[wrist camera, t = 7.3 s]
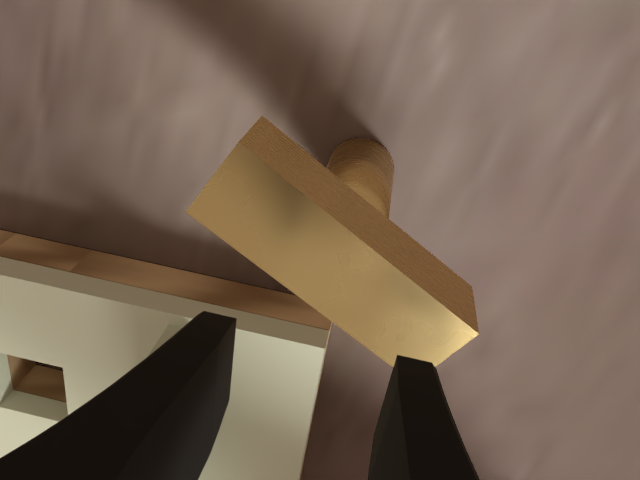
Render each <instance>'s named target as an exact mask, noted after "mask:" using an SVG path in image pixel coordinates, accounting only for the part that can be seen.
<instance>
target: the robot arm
mask: <svg viewBox="0 0 640 480" xmlns="http://www.w3.org/2000/svg"><path fill="white" fill-rule="evenodd" d="M236 321H237V318H233V317H229V316H224V315H220V314H215V313H211V312H207V311H203V312H201V313H199V314H198V315H197V316H195V317H194V318H193V319H192V320H191V321H190V322H188V323H187V324H186V325H185V326H184V327H183V328H182V329H180V330H179V331H178V332H177V333H176V334H174V335H173V336H172V337H171V338H170V339H169V340H167V341H166V342H165V343H164V344H163V345H161V346H160V347H159V348H158V349H156V350H155V351H154V352H153V353H152V354H150V355H149V356H148V357H147V358H145V359H144V360H143V361H141V362H140V363H139V364H138V365H136V366H135V367H134V368H132V369H131V370H130V371H129V372H127V373H126V374H125V375H123V376H122V377H121V378H120V379H118V380H117V381H116V382H114V383H113V384H112V385H110V386H109V387H108V388H106V389H105V390H103V391H102V392H101V393H99V394H98V395H96V396H95V397H93V398H92V399H91V400H89V401H88V402H86V403H85V404H83V405H82V406H81V407H79V408H78V409H76V410H75V411H73V412H72V413H71V414H69V415H68V416H66V417H65V418H63V419H62V420H60V421H59V422H57V423H56V424H54V425H53V426H51V427H50V428H48V429H47V430H45V431H44V432H42V433H40V434H39V435H37V436H36V437H34V438H32V439H31V440H29V441H28V442H26V443H24V444H23V445H21V446H19V447H18V448H16V449H14V450H13V451H11V452H9V453H8V454H6V455H4V456H3V457H1V458H0V480H198V479H199V477H200V475H201V472H202V470H203V468H204V466H205V464H206V462H207V460H208V458H209V456H210V453H211V451H212V448H213V445H214V443H215V440H216V437H217V434H218V432H219V429H220V426H221V423H222V420H223V417H224V414H225V411H226V408H227V406H228V403H229V398H230V387H231V376H232V365H233V354H234V343H235V332H236ZM368 480H479V478H478V475H477V473H476V471H475V469H474V466H473V464H472V462H471V460H470V457H469V455H468V453H467V451H466V448H465V446H464V444H463V441H462V439H461V437H460V434H459V432H458V429H457V427H456V424H455V421H454V419H453V416H452V414H451V411H450V408H449V406H448V403H447V400H446V397H445V395H444V392H443V389H442V386H441V383H440V380H439V376H438V373H437V370H436V368H435V366H434V365H433V363H432V362H427V361H423V360H418V359H414V358H410V357H405V356H401V355H397V357H396V360H395V364H394V367H393V371H392V374H391V378H390V381H389V385H388V388H387V392H386V395H385V399H384V402H383V406H382V409H381V412H380V416H379V419H378V423H377V426H376V430H375V433H374V439H373V446H372V453H371V460H370V467H369V474H368Z"/></svg>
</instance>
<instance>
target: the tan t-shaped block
mask: <svg viewBox="0 0 640 480" xmlns="http://www.w3.org/2000/svg"><path fill="white" fill-rule="evenodd" d="M393 175H394V164H393V160H392V158H391V156H390V154H389V152H388V151H387V150H386V148H384V147H383V146H382V145H381V144H380V143H378V142H376V141H374V140H371V139H368V138H353V139H349V140H347V141H345V142H343V143H341V144H340V145H339V146H337V147H336V148H335V150H334V151H333V153H332V154H331V156H330V159H329V161H328V164H327V166H326V167H324V166H323V165H322V164H321V163H320V162H318V161H317V160H316V159H315V158H313V157H312V156H311V155H310V154H308V153H307V152H306V151H305V150H304V149H302V148H301V147H300V146H299V145H297V144H296V143H295V142H294V141H293V140H291V139H290V138H289V137H288V136H286V135H285V134H284V133H283V132H282V131H280V130H279V129H278V128H277V127H275V126H274V125H273V124H272V123H271V122H269V121H268V120H267V119H266V118H264V117H263V116H261V117H260V119H259V120H258V121H257V122H256V123H255V124H254V125H253V126H252V128H251V129H250V130H249V131H248V132H247V133H246V134H245V135H244V137H243V138H242V139H241V140H240V141H239V142H238V144H237V145H236V146H235V147H234V149H233V150H232V151H231V153H230V154H229V155H228V157H227V158H226V159H225V161H224V162H223V163H222V165H221V166H220V167H219V169H218V170H217V171H216V173H215V174H214V175H213V177H212V178H211V179H210V181H209V182H208V183H207V184H206V186H205V187H204V188H203V190H202V191H201V192H200V194H199V195H198V196H197V198H196V199H195V200H194V202H193V203H192V204H191V206H190V207H189V208H188V210H187V211H186V213H187V214H189V215H190V216H191V217H193V218H194V219H195V220H197V221H198V222H199V223H201V224H202V225H203V226H205V227H206V228H207V229H209V230H210V231H211V232H213V233H214V234H215V235H217V236H218V237H219V238H221V239H222V240H223V241H225V242H226V243H227V244H229V245H230V246H231V247H233V248H234V249H235V250H237V251H238V252H239V253H241V254H242V255H243V256H245V257H246V258H247V259H249V260H250V261H251V262H253V263H254V264H255V265H257V266H258V267H259V268H261V269H262V270H263V271H265V272H266V273H267V274H269V275H270V276H271V277H273V278H274V279H275V280H277V281H278V282H279V283H281V284H282V285H284V286H285V287H286V288H288V289H289V290H290V291H292V292H293V293H294V294H296V295H297V296H298V297H300V298H301V299H302V300H304V301H305V302H306V303H308V304H309V305H310V306H312V307H313V308H314V309H316V310H317V311H318V312H320V313H321V314H322V315H324V316H325V317H326V318H328V319H329V320H330V321H332V322H333V323H334V324H336V325H337V326H338V327H340V328H341V329H342V330H344V331H345V332H346V333H348V334H349V335H350V336H352V337H353V338H354V339H356V340H357V341H358V342H360V343H361V344H362V345H364V346H365V347H366V348H368V349H369V350H370V351H372V352H373V353H374V354H376V355H377V356H378V357H380V358H381V359H382V360H384V361H385V362H386V363H388V364H389V365H390V366H392V367H394V364H395V360H396V357H397V355H401V356H405V357H410V358H414V359H418V360H423V361H427V362H432V363H433V365H434V366H435V367H436V366H437V365H438V364H440V363H441V362H442V361H444V360H445V359H446V358H448V357H449V356H450V355H452V354H453V353H454V352H456V351H457V350H458V349H460V348H461V347H462V346H463V345H465V344H466V343H467V342H469V341H470V340H471V339H473V338H474V337H475V336H477V335H478V334H479V331H478V324H477V317H476V311H475V304H474V297H473V290H472V287H471V286H470V285H469V284H468V283H467V282H465V281H464V280H463V279H462V278H460V277H459V276H458V275H457V274H456V273H454V272H453V271H452V270H451V269H449V268H448V267H447V266H446V265H445V264H443V263H442V262H441V261H440V260H438V259H437V258H436V257H435V256H434V255H432V254H431V253H430V252H429V251H427V250H426V249H425V248H424V247H422V246H421V245H420V244H419V243H418V242H416V241H415V240H414V239H413V238H411V237H410V236H409V235H408V234H407V233H405V232H404V231H403V230H402V229H400V228H399V227H398V226H397V225H396V224H394V223H393V222H392V221H391V220H389V211H390V202H391V193H392V184H393Z"/></svg>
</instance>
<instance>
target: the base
mask: <svg viewBox="0 0 640 480" xmlns="http://www.w3.org/2000/svg"><path fill="white" fill-rule="evenodd" d="M0 257H5V258H9V259H14V260H18V261H23V262H27V263H31V264H36V265H40V266H45V267H49V268H54V269H58V270H62V271H67V272H71V273H76V274H80V275H85V276H89V277H93V278H98V279H102V280H107V281H111V282H116V283H120V284H124V285H129V286H133V287H138V288H142V289H147V290H151V291H155V292H160V293H164V294H169V295H173V296H178V297H182V298H186V299H191V300H195V301H200V302H204V303H209V304H213V305H217V306H222V307H226V308H231V309H235V310H240V311H244V312H248V313H253V314H257V315H262V316H266V317H271V318H275V319H279V320H284V321H288V322H293V323H297V324H302V325H306V326H310V327H315V328H319V329H324V330H328V331H329V335H330V331H331V326H332V321H330V320H329V319H328V318H326V317H325V316H324V315H322V314H321V313H320V312H318V311H317V310H316V309H314V308H313V307H312V306H310V305H309V304H308V303H306V302H305V301H304V300H302V299H301V298H300V297H298V296H297V295H292V294H288V293H283V292H279V291H274V290H270V289H265V288H261V287H256V286H252V285H247V284H243V283H238V282H234V281H229V280H225V279H220V278H216V277H211V276H207V275H202V274H197V273H193V272H188V271H184V270H179V269H175V268H170V267H166V266H161V265H157V264H152V263H148V262H143V261H139V260H134V259H130V258H125V257H121V256H116V255H112V254H107V253H103V252H98V251H94V250H89V249H85V248H80V247H76V246H71V245H67V244H62V243H58V242H53V241H49V240H44V239H40V238H35V237H31V236H26V235H22V234H17V233H13V232H8V231H4V230H0ZM329 335H328V340H329ZM328 340H327V345H328ZM327 345H326V350H327ZM326 350H325V355H326ZM325 355H324V360H325ZM7 358H8V364H9V369H10V375H11V380H12V386H13V390H16V391H20V392H24V393H29V394H33V395H37V396H41V397H45V398H49V399H53V400H57V401H61V402H65V403H67V401H66V392H65V383H64V375H63V371H61V370H57V369H52V368H48V367H44V366H40V365H36V361H32V360H28V359H24V358H20V357H16V356H11V355H7ZM324 360H323V365H324ZM323 365H322V370H323ZM322 370H321V375H322ZM321 375H320V380H321ZM320 380H319V385H320ZM319 385H318V390H319ZM318 390H317V395H318ZM317 395H316V400H317ZM316 400H315V405H316ZM315 405H314V410H315ZM314 410H313V415H314ZM313 415H312V420H313ZM312 420H311V424H312ZM310 429H311V425H310ZM309 434H310V430H309ZM308 439H309V435H308ZM307 444H308V440H307ZM306 449H307V445H306ZM305 454H306V450H305ZM304 459H305V455H304ZM303 464H304V460H303ZM302 469H303V465H302ZM302 469H301V474H302ZM301 474H300V479H301ZM300 479H299V480H300Z"/></svg>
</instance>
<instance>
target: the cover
mask: <svg viewBox="0 0 640 480" xmlns="http://www.w3.org/2000/svg"><path fill="white" fill-rule="evenodd" d="M203 311H207V312H211V313H215V314H220V315H224V316H229V317H233V318H237V321H236V332H235V343H234V354H233V365H232V376H231V387H230V398H229V403H228V406H227V408H226V411H225V414H224V417H223V420H222V423H221V426H220V429H219V432H218V434H217V437H216V440H215V443H214V445H213V448H212V451H211V453H210V456H209V458H208V460H207V462H206V464H205V466H204V468H203V470H202V472H201V475H200V477H199V479H198V480H299V479H300V474H301V469H302V465H303V460H304V455H305V450H306V445H307V440H308V435H309V430H310V425H311V420H312V415H313V410H314V405H315V400H316V395H317V390H318V385H319V380H320V375H321V370H322V365H323V360H324V355H325V350H326V345H327V340H328V335H329V331H328V330H324V329H319V328H315V327H310V326H306V325H302V324H297V323H293V322H288V321H284V320H279V319H275V318H271V317H266V316H262V315H257V314H253V313H248V312H244V311H240V310H235V309H231V308H226V307H222V306H217V305H213V304H209V303H204V302H200V301H195V300H191V299H186V298H182V297H178V296H173V295H169V294H164V293H160V292H155V291H151V290H147V289H142V288H138V287H133V286H129V285H124V284H120V283H116V282H111V281H107V280H102V279H98V278H93V277H89V276H85V275H80V274H76V273H71V272H67V271H62V270H58V269H54V268H49V267H45V266H40V265H36V264H31V263H27V262H23V261H18V260H14V259H9V258H5V257H0V458H1V457H3V456H4V455H6V454H8V453H9V452H11V451H13V450H14V449H16V448H18V447H19V446H21V445H23V444H24V443H26V442H28V441H29V440H31V439H32V438H34V437H36V436H37V435H39V434H40V433H42V432H44V431H45V430H47V429H48V428H50V427H51V426H53V425H54V424H56V423H57V422H59V421H60V420H62V419H63V418H65V417H66V416H68V415H69V414H71V413H72V412H73V411H75V410H76V409H78V408H79V407H81V406H82V405H83V404H85V403H86V402H88V401H89V400H91V399H92V398H93V397H95V396H96V395H98V394H99V393H101V392H102V391H103V390H105V389H106V388H108V387H109V386H110V385H112V384H113V383H114V382H116V381H117V380H118V379H120V378H121V377H122V376H123V375H125V374H126V373H127V372H129V371H130V370H131V369H132V368H134V367H135V366H136V365H138V364H139V363H140V362H141V361H143V360H144V359H145V358H147V357H148V356H149V355H150V354H152V353H153V352H154V351H155V350H156V349H158V348H159V347H160V346H161V345H163V344H164V343H165V342H166V341H167V340H169V339H170V338H171V337H172V336H173V335H174V334H176V333H177V332H178V331H179V330H180V329H182V328H183V327H184V326H185V325H186V324H187V323H188V322H190V321H191V320H192V319H193V318H194V317H195V316H197V315H198V314H199V313H201V312H203ZM7 355H11V356H16V357H20V358H24V359H28V360H32V361H36V362H41V363H45V364H49V365H53V366H57V367H62V368H63V375H64V383H65V392H66V401H67V403H65V402H61V401H57V400H53V399H49V398H45V397H41V396H37V395H33V394H29V393H24V392H20V391H16V390H13V386H12V380H11V375H10V369H9V364H8V358H7Z"/></svg>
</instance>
